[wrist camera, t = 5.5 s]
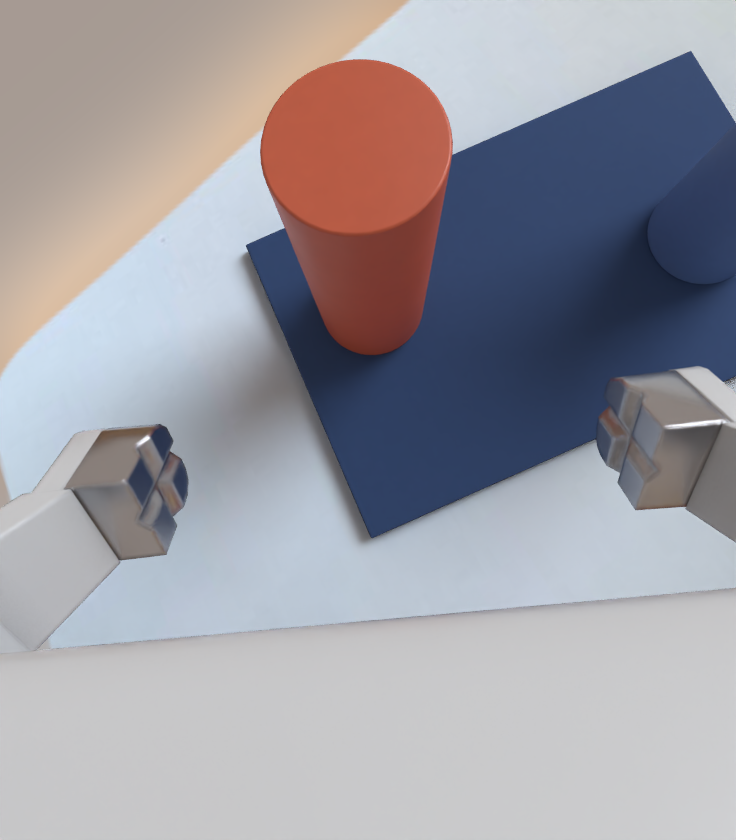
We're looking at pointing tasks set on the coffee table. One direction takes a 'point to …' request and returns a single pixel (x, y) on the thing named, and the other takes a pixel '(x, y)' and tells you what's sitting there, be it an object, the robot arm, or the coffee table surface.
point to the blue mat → (522, 301)
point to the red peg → (361, 194)
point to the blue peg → (699, 219)
